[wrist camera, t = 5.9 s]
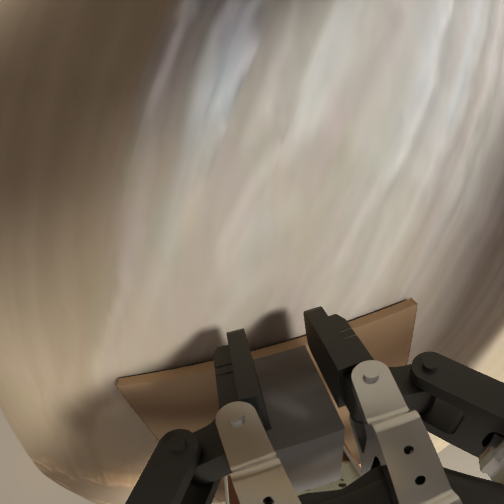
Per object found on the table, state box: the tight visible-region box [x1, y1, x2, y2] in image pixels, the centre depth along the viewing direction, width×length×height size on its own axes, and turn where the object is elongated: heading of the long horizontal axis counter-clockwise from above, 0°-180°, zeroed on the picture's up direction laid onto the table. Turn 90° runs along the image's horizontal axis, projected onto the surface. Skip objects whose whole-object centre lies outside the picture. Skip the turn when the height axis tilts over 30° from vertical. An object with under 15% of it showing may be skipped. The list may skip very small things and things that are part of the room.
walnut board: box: [117, 298, 417, 502], centre depth 15 cm, size 19×16×6 cm
